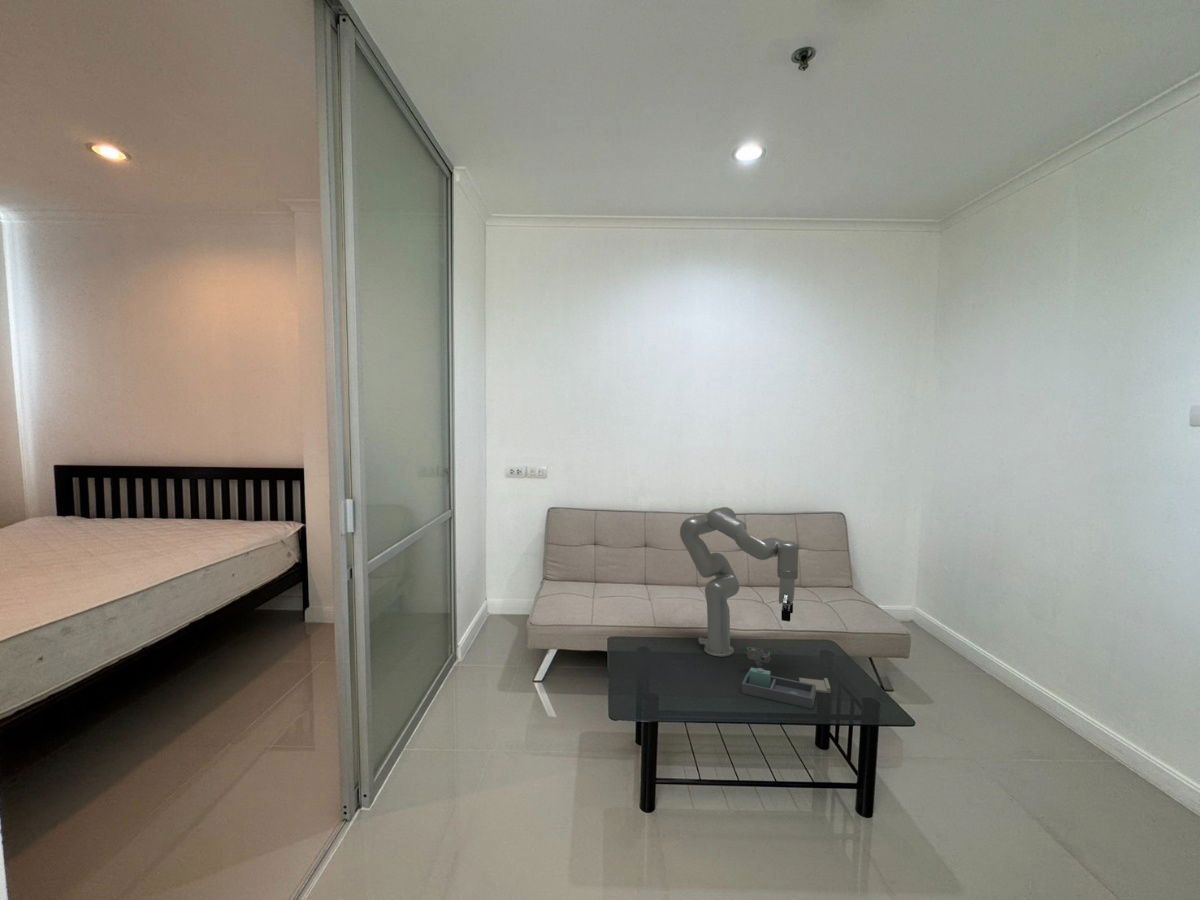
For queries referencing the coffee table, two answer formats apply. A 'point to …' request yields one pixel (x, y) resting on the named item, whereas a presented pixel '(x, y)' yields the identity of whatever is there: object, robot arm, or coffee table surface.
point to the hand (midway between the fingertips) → (787, 616)
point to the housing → (778, 688)
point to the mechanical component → (758, 655)
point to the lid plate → (818, 684)
